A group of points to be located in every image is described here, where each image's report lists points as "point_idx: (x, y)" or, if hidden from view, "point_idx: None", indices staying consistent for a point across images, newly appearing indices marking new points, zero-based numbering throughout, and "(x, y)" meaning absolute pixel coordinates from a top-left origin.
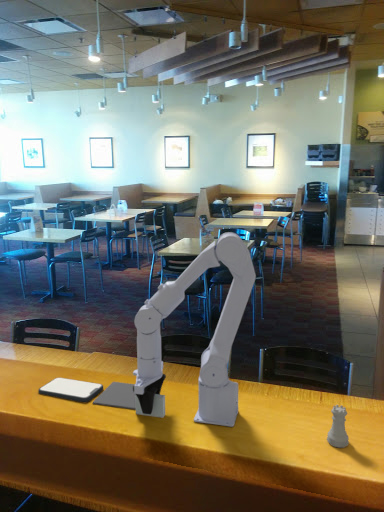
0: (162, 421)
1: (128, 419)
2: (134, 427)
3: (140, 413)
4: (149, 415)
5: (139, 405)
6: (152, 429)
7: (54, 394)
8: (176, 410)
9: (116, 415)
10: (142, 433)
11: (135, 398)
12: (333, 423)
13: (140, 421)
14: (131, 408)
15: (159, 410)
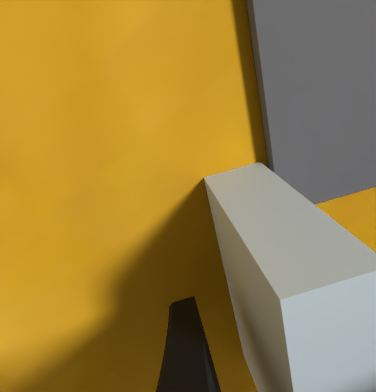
0: None
1: (93, 181)
2: (28, 293)
3: (215, 220)
4: (227, 282)
5: (235, 255)
6: (89, 388)
7: None
8: None
9: (79, 19)
10: (7, 374)
11: (255, 262)
12: None
13: (125, 277)
14: (261, 89)
15: (257, 384)
